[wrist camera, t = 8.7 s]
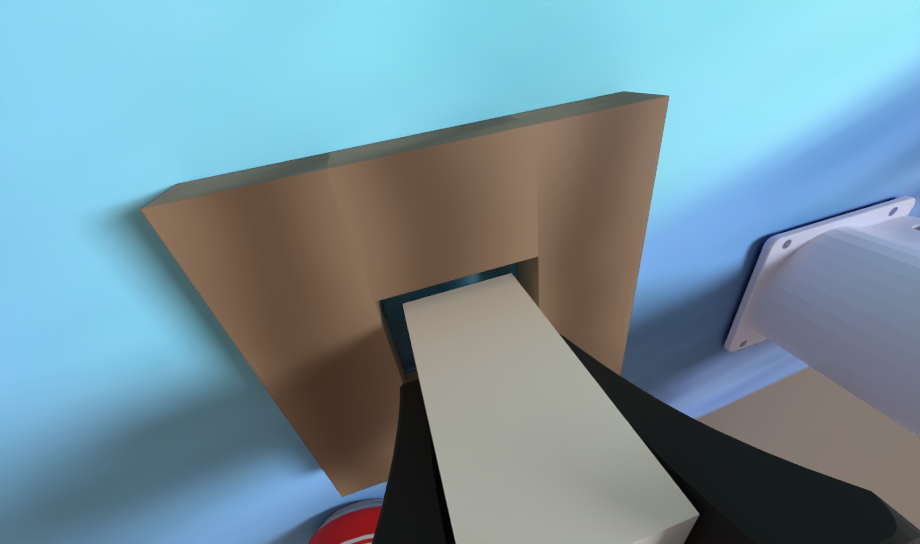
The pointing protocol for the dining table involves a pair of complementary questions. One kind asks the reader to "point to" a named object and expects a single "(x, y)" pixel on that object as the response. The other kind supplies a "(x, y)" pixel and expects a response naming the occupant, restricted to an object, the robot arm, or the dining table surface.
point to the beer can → (350, 524)
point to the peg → (531, 430)
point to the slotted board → (415, 253)
